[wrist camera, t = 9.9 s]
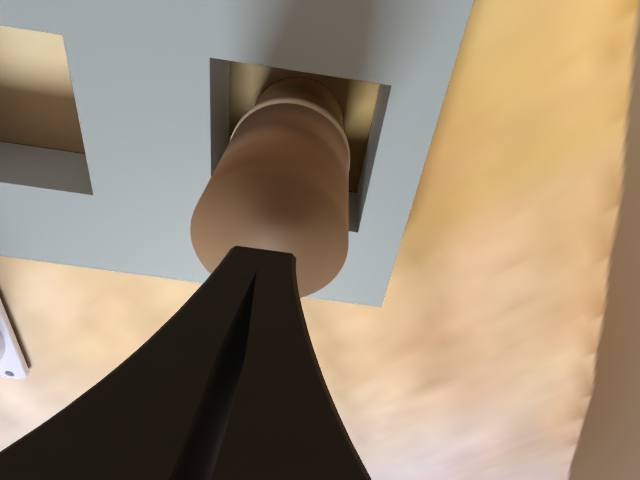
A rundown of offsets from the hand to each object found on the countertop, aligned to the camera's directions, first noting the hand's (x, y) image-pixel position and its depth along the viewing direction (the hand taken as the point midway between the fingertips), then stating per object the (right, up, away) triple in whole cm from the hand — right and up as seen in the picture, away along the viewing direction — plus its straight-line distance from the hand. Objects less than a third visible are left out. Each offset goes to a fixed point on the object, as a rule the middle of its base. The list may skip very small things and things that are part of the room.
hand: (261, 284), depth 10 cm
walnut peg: (0, +6, +8) cm, 10 cm away
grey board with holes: (-4, +6, +8) cm, 11 cm away
